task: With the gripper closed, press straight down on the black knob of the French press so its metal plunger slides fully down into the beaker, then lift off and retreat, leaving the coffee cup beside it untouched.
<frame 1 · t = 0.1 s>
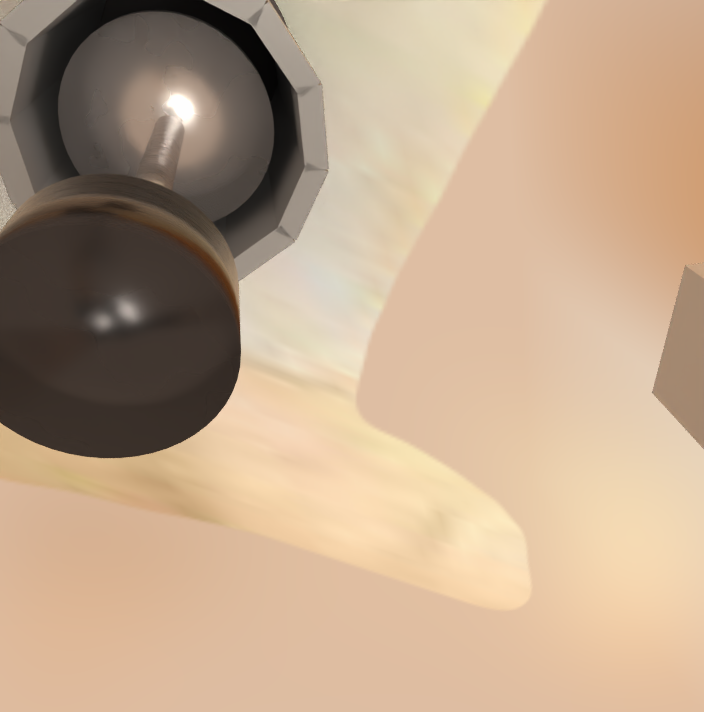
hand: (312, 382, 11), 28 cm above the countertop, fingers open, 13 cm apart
press beaker: (189, 64, 33), on the countertop
plunger: (149, 195, 17), point 20 cm above the countertop, slide at 0.0 cm
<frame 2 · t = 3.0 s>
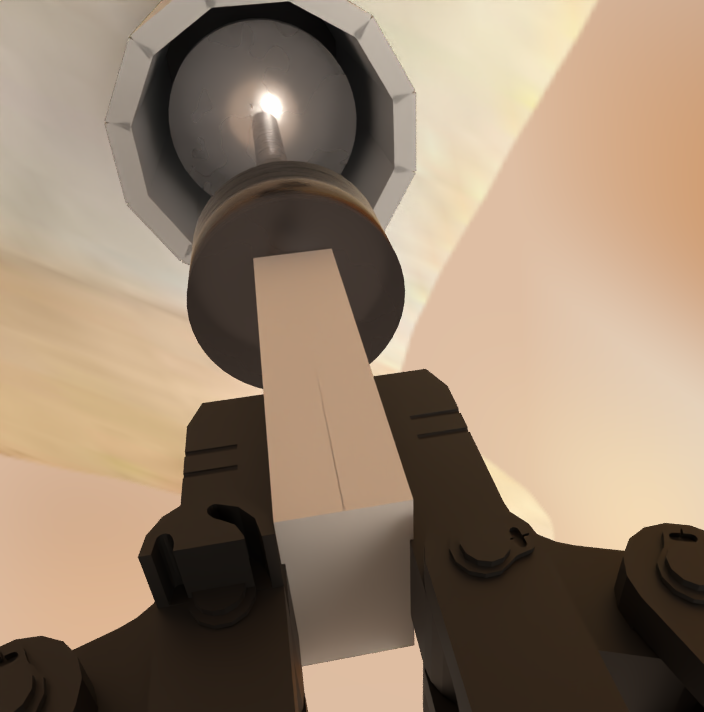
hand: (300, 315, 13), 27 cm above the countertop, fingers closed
press beaker: (254, 68, 35), on the countertop
plunger: (275, 182, 19), point 19 cm above the countertop, slide at 1.3 cm, touching gripper
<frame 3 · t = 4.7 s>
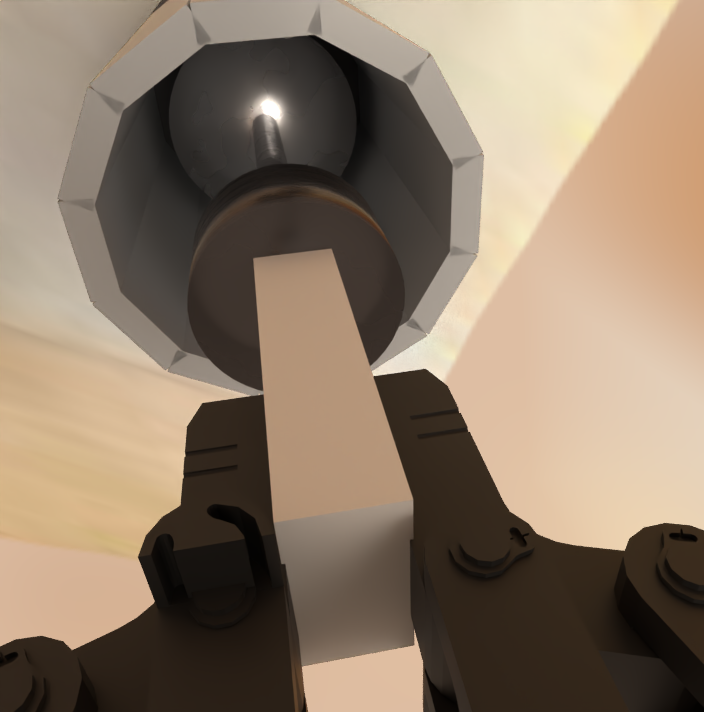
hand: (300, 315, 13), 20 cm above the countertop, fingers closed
press beaker: (259, 98, 29), on the countertop
plunger: (275, 184, 19), point 12 cm above the countertop, slide at 8.3 cm, touching gripper
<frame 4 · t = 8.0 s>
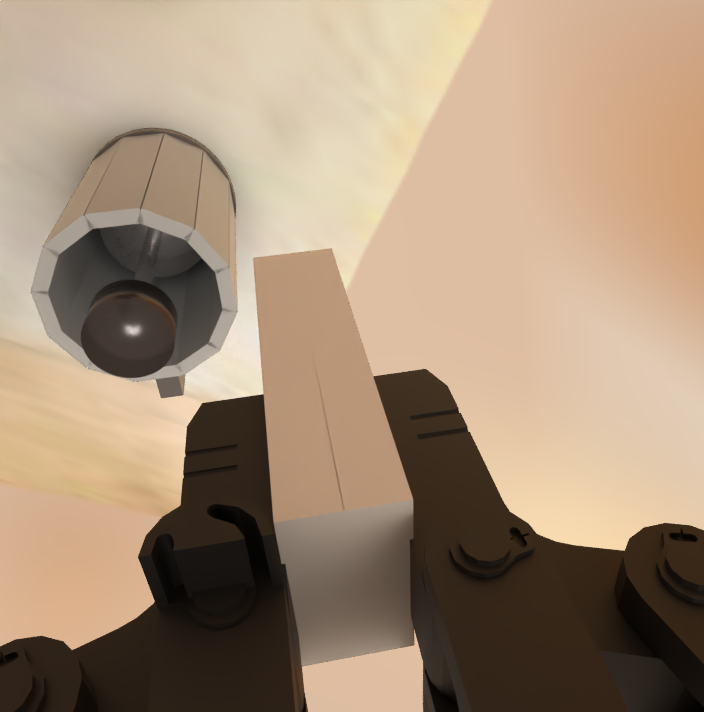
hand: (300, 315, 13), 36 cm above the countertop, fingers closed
press beaker: (161, 202, 47), on the countertop
plunger: (144, 273, 38), point 12 cm above the countertop, slide at 8.3 cm
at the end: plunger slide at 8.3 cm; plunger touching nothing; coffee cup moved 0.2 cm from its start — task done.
